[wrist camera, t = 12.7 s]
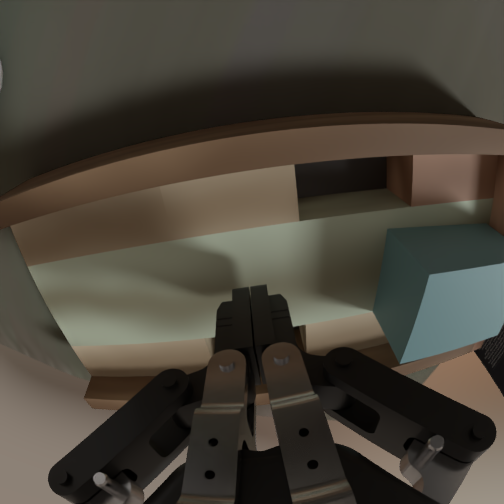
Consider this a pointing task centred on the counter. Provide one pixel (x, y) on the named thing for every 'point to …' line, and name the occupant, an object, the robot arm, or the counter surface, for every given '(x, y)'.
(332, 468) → the robot arm
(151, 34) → the counter surface
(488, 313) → the block
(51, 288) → the track
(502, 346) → the small box
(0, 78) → the white knot sculpture
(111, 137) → the counter surface
